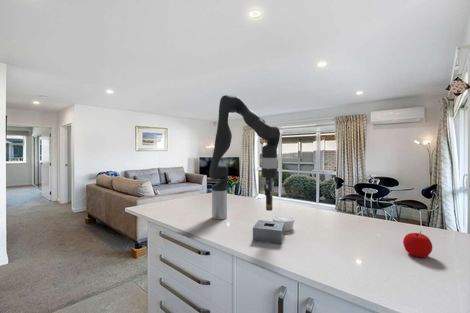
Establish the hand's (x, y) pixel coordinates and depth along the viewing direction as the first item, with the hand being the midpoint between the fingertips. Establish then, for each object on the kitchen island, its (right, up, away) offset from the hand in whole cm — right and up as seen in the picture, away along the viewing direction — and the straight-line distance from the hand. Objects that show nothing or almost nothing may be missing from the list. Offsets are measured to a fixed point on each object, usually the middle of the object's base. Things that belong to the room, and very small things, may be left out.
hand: (269, 203), depth 110 cm
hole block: (0, -16, 0) cm, 16 cm away
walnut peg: (0, -3, 0) cm, 3 cm away
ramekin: (+10, -17, +14) cm, 24 cm away
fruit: (+56, -17, -19) cm, 61 cm away
